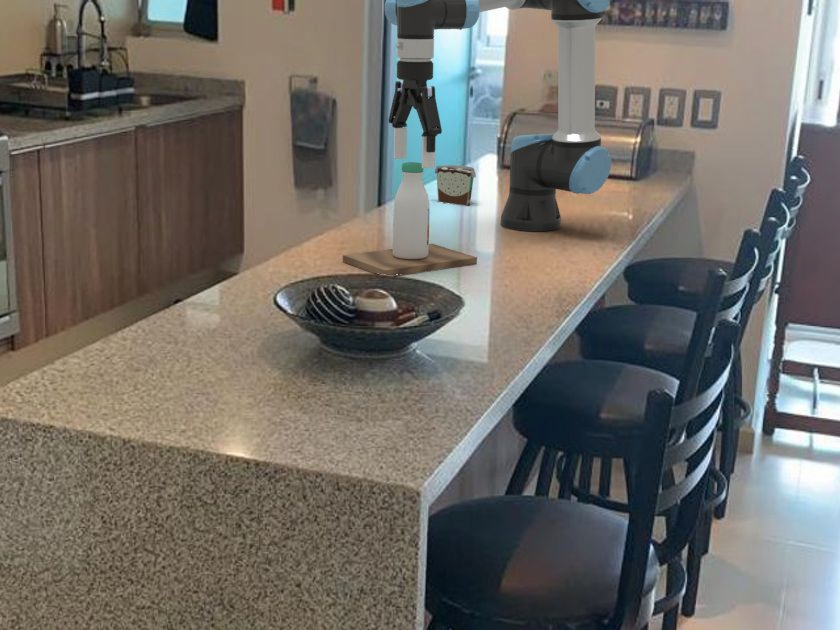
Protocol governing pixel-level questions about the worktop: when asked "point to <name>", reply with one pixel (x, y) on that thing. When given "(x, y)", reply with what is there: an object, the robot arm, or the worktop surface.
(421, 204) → the milk bottle
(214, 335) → the worktop surface
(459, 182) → the food container
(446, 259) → the board
